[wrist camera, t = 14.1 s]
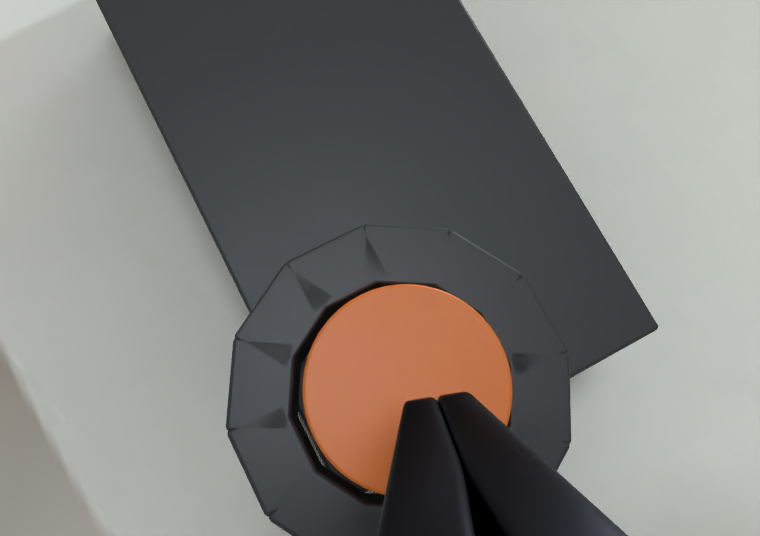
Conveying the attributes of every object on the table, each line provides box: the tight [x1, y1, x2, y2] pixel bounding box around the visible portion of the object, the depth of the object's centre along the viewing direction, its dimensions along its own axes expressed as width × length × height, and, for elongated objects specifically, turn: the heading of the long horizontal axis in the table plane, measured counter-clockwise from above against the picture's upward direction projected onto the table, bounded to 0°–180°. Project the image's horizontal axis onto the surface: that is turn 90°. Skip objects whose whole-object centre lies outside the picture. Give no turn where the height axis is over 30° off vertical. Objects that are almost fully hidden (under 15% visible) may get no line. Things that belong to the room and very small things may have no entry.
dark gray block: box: [96, 0, 658, 536], centre depth 17 cm, size 9×18×7 cm, turn 28°
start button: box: [303, 284, 512, 495], centre depth 12 cm, size 4×4×2 cm
